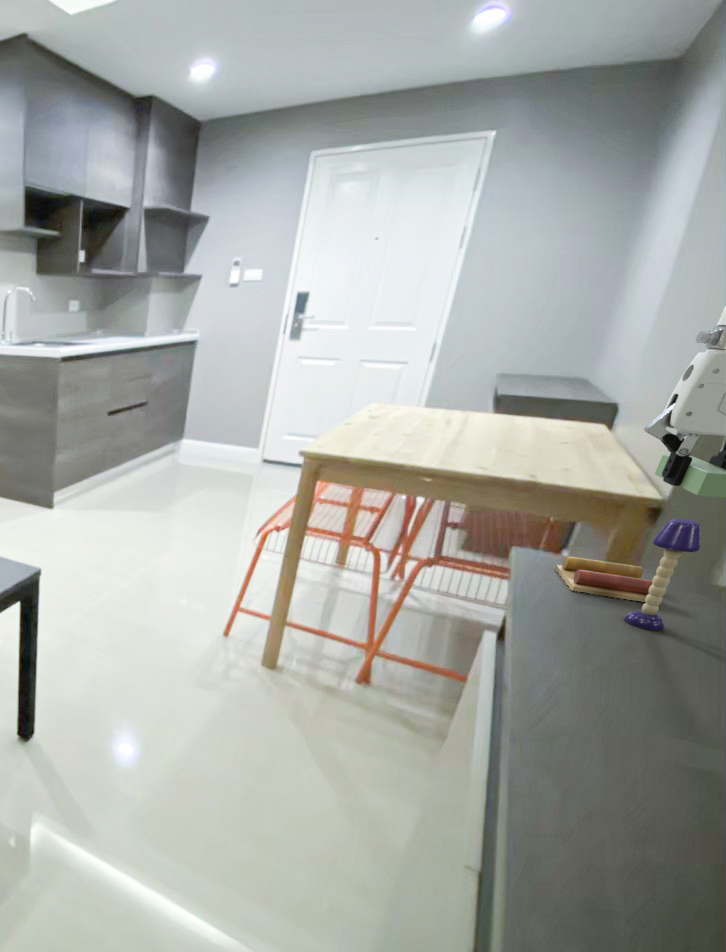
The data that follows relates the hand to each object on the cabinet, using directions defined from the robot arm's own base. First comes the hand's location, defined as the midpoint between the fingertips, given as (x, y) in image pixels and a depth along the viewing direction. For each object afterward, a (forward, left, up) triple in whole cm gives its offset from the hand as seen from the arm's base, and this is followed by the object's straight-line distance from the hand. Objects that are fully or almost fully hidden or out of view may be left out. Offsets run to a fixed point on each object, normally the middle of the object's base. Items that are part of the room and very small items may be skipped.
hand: (690, 484), depth 82 cm
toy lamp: (-4, -6, -23) cm, 24 cm away
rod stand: (-3, -21, -23) cm, 31 cm away
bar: (0, 0, 0) cm, 0 cm away
